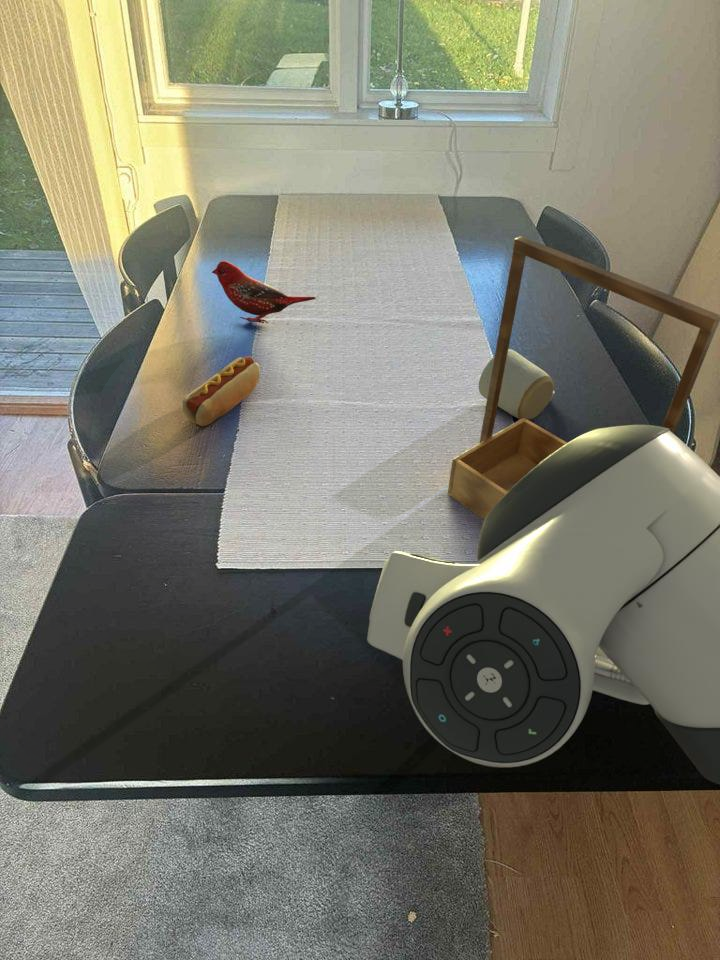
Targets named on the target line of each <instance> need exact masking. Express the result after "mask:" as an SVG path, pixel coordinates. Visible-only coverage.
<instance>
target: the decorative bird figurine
mask: <svg viewBox="0 0 720 960" xmlns="http://www.w3.org/2000/svg"><path fill="white" fill-rule="evenodd" d="M211 274H214V275H215V276H217V279H218V282H219V284H220V285H221V287H222V290H223V292H224V293H225V295H226V297H227V299H228V300H229V301H230V302H231V303H232V304H233V305H234V306H235V307H236V308H238V309H239V310H241V311H243V312H245V313H247V314H250V315H254V316H256V317H251V316H249V317H242V316H239V317H238V319H242V320H246V321H247V322H249V323H260V324H265V323H266V324H269V322H268V321H267V320H266V319H263V318H265V317H267V316H268V315H271V314H276V313H280V312H282V311H283V310H284V309H285V310H286V308H287V307H289V306H291V305H293V304H298V303H303V302H309V301H314V300H316V299H317V298H316V296H297V295H296V296H291V295H290V296H289V295H287V294H285V293H284V292H283V291H280V290H279V289H277V288H276V287H274V286H271V285H269V284H267V283H265V282H262V281H260V280H257V279H255V278H253V277H250V276H249V275H247V274H246V273H244V272H243V271H242V270H241V269H240V268H239V266H237V265H235V264H233V263H231V262H229V261H227V260H221V261H219V262H218V264H217V265H216V267H215V268H214V269H213V270H212V271H211Z"/></svg>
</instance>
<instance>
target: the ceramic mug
mask: <svg viewBox="0 0 720 960" xmlns="http://www.w3.org/2000/svg"><path fill="white" fill-rule="evenodd" d="M494 358H495V355H494V356H492V357H491V359H489V361H488V362H487V363H486V365H485V366H484V368H483V370H482V372H481V373H480V374H481V375H480V377H479V380H478V392H479V394H480V395H481V396H482V398H484V399H486V400H487V398H488V392H489V386H490V380H491V375H492V369H493V363H494ZM555 394H556V393H555V383H554V380H553V379H552V377H551V376H550V375H549V374H548V373H547V372H546V371H544V370H543V369H541V368H540V367H538V366H537V365H536V364H534V363H533V362H531V361H529V360H528V359H526V358H525V357H524V356H522V355H521V354H520V353H518V352H517V351H515V350H513V349H510V348H508V353H507V358H506V364H505V369H504V374H503V380H502V385H501V390H500V396H499V401H498V406H497V407H499V408H500V409H502V410H504V411H505V412H507V413H508V414H509V415H511V416H512V417H515V418H516V419H518V420H520V419H522V418H525V419H527V420H529V421H530V420H532V419H534V418H536V417H537V416H539V415H540V414H541V413H542V412H543V411H544V410H545V409H546V407H547V406H548V404H549V402H551V401H552V399H553V398H554V395H555Z"/></svg>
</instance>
